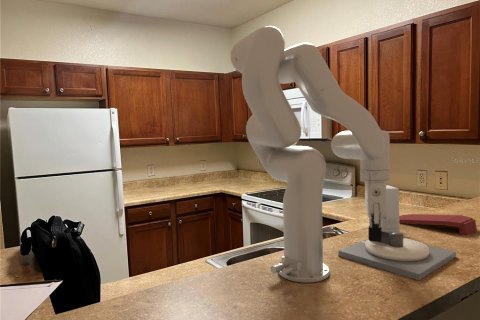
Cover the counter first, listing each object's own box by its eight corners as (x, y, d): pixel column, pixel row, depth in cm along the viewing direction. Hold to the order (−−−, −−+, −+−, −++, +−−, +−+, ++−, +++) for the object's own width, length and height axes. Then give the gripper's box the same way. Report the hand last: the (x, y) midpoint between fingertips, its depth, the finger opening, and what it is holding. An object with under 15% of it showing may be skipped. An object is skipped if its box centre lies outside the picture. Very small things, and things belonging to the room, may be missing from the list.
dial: (439, 250, 93) (439, 233, 93) (412, 266, 83) (412, 247, 83) (383, 237, 106) (383, 222, 105) (353, 250, 96) (353, 233, 95)
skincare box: (400, 234, 114) (400, 188, 112) (380, 235, 114) (380, 189, 113) (389, 227, 122) (389, 184, 121) (370, 228, 122) (370, 185, 121)
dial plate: (419, 280, 79) (419, 273, 79) (338, 255, 96) (338, 249, 96) (455, 256, 93) (455, 250, 93) (379, 238, 110) (379, 233, 110)
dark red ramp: (391, 231, 130) (464, 236, 110) (389, 219, 130) (461, 221, 110) (408, 226, 137) (479, 229, 117) (406, 213, 137) (477, 215, 117)
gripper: (393, 179, 86) (393, 250, 87) (386, 172, 100) (386, 233, 102) (361, 179, 88) (362, 248, 90) (359, 172, 102) (359, 232, 104)
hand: (375, 240), depth 96 cm, fingers closed
